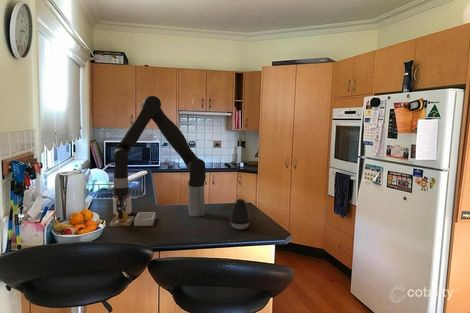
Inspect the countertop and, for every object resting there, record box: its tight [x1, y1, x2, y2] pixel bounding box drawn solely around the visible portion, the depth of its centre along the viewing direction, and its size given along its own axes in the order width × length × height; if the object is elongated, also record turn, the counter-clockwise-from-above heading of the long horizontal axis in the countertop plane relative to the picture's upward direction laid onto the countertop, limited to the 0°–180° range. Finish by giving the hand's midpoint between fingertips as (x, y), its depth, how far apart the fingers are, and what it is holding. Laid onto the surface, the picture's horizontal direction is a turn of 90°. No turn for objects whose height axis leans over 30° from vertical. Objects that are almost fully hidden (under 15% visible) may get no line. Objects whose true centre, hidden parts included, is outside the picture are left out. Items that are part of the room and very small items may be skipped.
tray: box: [109, 216, 135, 227], centre depth 176 cm, size 10×12×2 cm
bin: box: [133, 211, 156, 227], centre depth 178 cm, size 9×14×4 cm
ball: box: [115, 211, 129, 222], centre depth 176 cm, size 6×6×6 cm
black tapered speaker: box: [229, 198, 251, 231], centre depth 168 cm, size 10×10×15 cm
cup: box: [112, 194, 133, 216], centre depth 193 cm, size 10×10×10 cm
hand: (122, 216), depth 176 cm, fingers open, 6 cm apart
